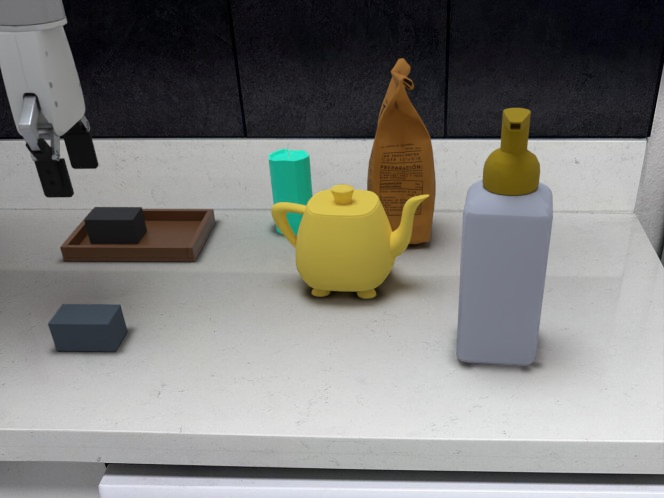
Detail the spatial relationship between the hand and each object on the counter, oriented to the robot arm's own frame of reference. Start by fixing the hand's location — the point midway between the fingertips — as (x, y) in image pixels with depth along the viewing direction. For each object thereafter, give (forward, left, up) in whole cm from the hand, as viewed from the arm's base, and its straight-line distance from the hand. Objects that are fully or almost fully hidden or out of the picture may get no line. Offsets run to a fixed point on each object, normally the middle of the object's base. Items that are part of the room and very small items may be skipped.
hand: (73, 181), depth 92 cm
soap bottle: (+50, -12, -15) cm, 53 cm away
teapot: (+32, +5, -15) cm, 36 cm away
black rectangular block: (-4, +19, -14) cm, 24 cm away
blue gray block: (+2, -11, -15) cm, 19 cm away
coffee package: (+38, +22, -15) cm, 46 cm away
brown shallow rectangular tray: (0, +19, -15) cm, 24 cm away
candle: (+22, +24, -15) cm, 36 cm away
